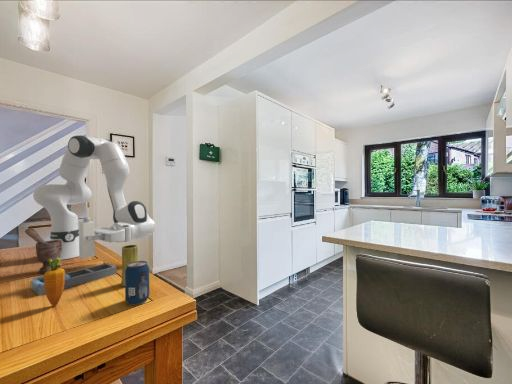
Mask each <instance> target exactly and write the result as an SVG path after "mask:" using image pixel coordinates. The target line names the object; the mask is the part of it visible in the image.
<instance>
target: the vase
mask: <svg viewBox="0 0 512 384" xmlns="http://www.w3.org/2000/svg"><path fill="white" fill-rule="evenodd" d="M138 253H139V251H138V245H137V244H127V245H123V246H122V247H121V283H120V286H122V287H124V288H125V270H126V268H127V265H128V264H129V263H132V262H136V261H139V259H138V258H139V255H138Z"/></svg>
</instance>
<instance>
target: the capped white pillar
mask: <svg viewBox="0 0 512 384" xmlns="http://www.w3.org/2000/svg"><path fill="white" fill-rule="evenodd" d="M82 218H83V221H81V222H79V221H78V229H79V256H78V257H79V258H80V259H83V260H84V259H88V258H94V257H96V243H95V242H96V240H87V236H88V235H95V228H96V225H95V223H96V222H95V221H91V217H90V216H84V217H82Z"/></svg>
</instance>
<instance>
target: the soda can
mask: <svg viewBox="0 0 512 384" xmlns="http://www.w3.org/2000/svg"><path fill="white" fill-rule="evenodd" d="M124 289H125V290H124V291H125V298H124V300H125V302H126V303H127V304H128V305H131V306H137V305H141V304H143V303H145V302H146V301H147V300H148V299H149V297H150V266H149V264H148V261H144V260H138V261H136V262H132V263H129V264H128V265H127V268H126V270H125V287H124Z"/></svg>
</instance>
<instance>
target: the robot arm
mask: <svg viewBox="0 0 512 384" xmlns="http://www.w3.org/2000/svg"><path fill="white" fill-rule="evenodd" d="M62 156H63V157H62V160H61V163H60V165H59V169H58V175H59V176H60V178H62V179H63V180H66V183H65V184H57V183H56V184H55V183H54V184H53V183H51V184H44V185H39V186H37V187H36V188H35V189H34V191H33V194H32V196H33V200H34V201H35V202H36V204H38V205H40V206H42V207H43V208H44V209H46V211H47V212H48V214H49V217H50V222H51V231H50V234H49V241H51V240H61V242H62V246H61V247H62V251H61V255H60V259H62V260H61V261H63V260H68V259H72V258H77V257H79V217H78V215H77V213H75V212H73V211H71V210H69V209H68V206H67V205H82V204H85V203H88V202H89V201H90V200H91V198H92V196H93V194H92V190H91V189H90V187H89V186H87V185H86V180H85V178H86V175H87V171H88V167H89V165H90V163H91V160H99V162H100V165H101V168H102V170H103V173H104V177H105V181H106V186H107V191H108V195H109V199H110V203H111V206H112V207H111V208H112V210H113V212H112V213H113V214H112V221H113V222H114V223H113V225H111V226H110V227H108V226H107V227H105V226H103V227H95V235H88V236H87V240H95V241H98V240H100V241H103V242H107V243H123V242H124V243H128V242H131V240H139V239H143V238H144V239H145V238H147V237H150V236H151V235H153V234H154V232H155V231H156V222H155V221H154V219H152V218H151V217H150V216H149V213H148V212H147V207H146V206H145V204H144V203H142V202H141V201H138V200H133V201H130V202H129V203H127V202H126V199H125V195H124V187H125V184H126V182H127V181H128V179H129V176H130V173H131V171H130V165H129V163H128V160H127V158H126V156H125V154H124V151H123V150H122V148H121V147H120V146H119V145H118V143H116V142H113V141H112V140H109V139H105V138H103V137H97V136H87V135H86V136H85V135H82V134H81V135H74V136H72V137H70V139H69V140H68V142H67V149H66V150H65V152H64V154H63V155H62Z"/></svg>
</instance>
